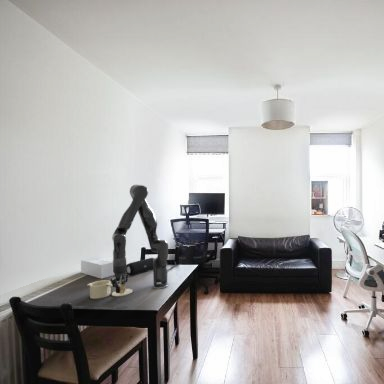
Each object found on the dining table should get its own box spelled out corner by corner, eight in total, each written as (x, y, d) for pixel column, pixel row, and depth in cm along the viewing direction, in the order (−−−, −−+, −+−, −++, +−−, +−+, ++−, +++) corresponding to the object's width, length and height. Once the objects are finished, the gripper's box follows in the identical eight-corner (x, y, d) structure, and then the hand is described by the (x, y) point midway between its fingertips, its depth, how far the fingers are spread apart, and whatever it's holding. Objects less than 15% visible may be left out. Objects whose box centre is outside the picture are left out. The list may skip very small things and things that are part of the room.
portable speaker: (131, 277, 210) (131, 264, 210) (124, 275, 215) (123, 263, 215) (158, 269, 232) (158, 257, 232) (151, 267, 237) (150, 256, 237)
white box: (81, 272, 225) (80, 260, 225) (94, 269, 234) (94, 257, 234) (101, 278, 208) (100, 265, 208) (114, 275, 217) (114, 261, 217)
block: (119, 290, 168) (119, 284, 168) (125, 290, 168) (125, 284, 168) (115, 292, 164) (115, 286, 164) (121, 293, 164) (121, 286, 164)
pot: (95, 292, 178) (95, 279, 178) (118, 293, 176) (117, 280, 176) (81, 298, 167) (81, 285, 167) (106, 300, 165) (105, 286, 165)
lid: (119, 290, 182) (119, 279, 182) (136, 290, 180) (136, 280, 180) (107, 297, 170) (107, 286, 170) (124, 297, 168) (124, 286, 168)
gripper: (117, 267, 158) (118, 296, 158) (132, 261, 172) (132, 287, 172) (106, 267, 159) (107, 295, 159) (121, 261, 173) (122, 287, 174)
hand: (120, 291), depth 166 cm, fingers closed on block, 4 cm apart
